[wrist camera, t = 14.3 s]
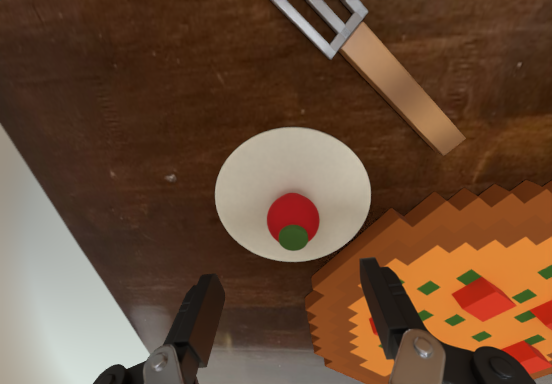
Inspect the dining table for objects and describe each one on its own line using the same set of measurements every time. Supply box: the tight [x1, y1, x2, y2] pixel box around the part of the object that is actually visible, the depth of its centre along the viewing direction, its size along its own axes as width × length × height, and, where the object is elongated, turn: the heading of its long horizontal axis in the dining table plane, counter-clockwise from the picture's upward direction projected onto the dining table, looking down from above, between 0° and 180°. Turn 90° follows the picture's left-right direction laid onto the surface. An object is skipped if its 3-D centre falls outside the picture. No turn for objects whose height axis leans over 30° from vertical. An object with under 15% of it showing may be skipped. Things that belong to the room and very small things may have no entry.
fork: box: [270, 0, 466, 156], centre depth 13 cm, size 15×3×1 cm, turn 51°
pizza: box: [305, 180, 552, 384], centre depth 23 cm, size 32×32×3 cm
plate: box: [215, 127, 371, 262], centre depth 19 cm, size 13×13×1 cm
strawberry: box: [267, 193, 320, 251], centre depth 17 cm, size 4×4×4 cm
